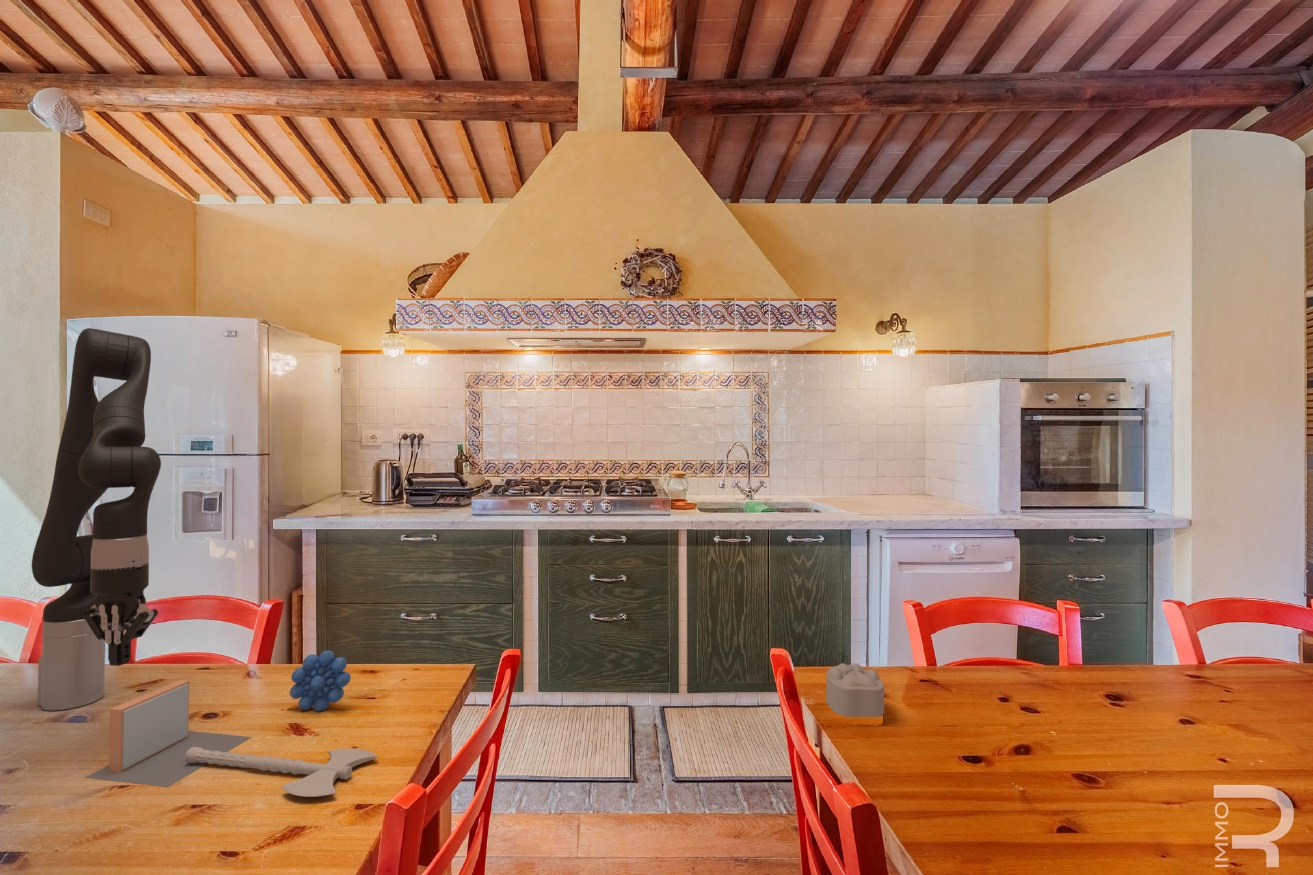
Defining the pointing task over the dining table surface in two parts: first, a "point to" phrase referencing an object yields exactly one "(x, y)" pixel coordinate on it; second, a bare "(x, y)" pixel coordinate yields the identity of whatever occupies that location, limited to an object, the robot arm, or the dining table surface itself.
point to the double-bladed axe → (292, 767)
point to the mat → (171, 761)
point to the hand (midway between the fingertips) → (119, 663)
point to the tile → (148, 725)
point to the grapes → (320, 681)
